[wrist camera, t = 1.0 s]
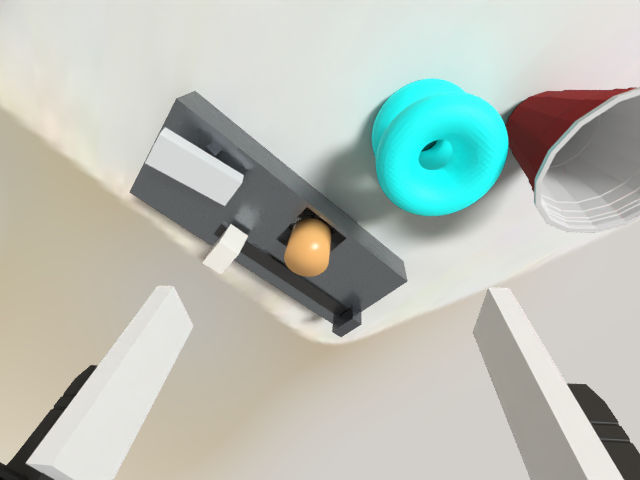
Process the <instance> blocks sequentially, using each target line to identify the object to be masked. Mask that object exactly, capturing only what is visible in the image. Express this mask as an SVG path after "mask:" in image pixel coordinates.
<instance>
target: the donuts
mask: <svg viewBox="0 0 640 480" xmlns="http://www.w3.org/2000/svg"><path fill="white" fill-rule="evenodd" d="M436 140H438V141H437V142H436V144H435V145H434V146H433V147H432V148H430V149H428V150H426V151H422V149H423V148H424V147H425V146H426V145H428V144H429V143H431V142H433V141H436ZM372 147H373V152H374V155H375V157H376V173H377V178H378V181H379V184H380V186H381V188H382V190H383V192H384V193H385V195H386V196H387V197H388V198H389V199H390V200H391V201H392V202H393V203H394V204H395V205H396V206H398V207H399V208H401V209H403V210H405V211H407V212H410V213H413V214H416V215H422V216H441V215H447V214H451V213H454V212H457V211H460V210H462V209H464V208H466V207H468V206H470V205H471V204H473V203H475V202H476V201H477V200H479V199H480V198H481V197H482V196H484V195H485V194H486V193H487V192H488V191H489V190H490V188H491V187H492V186H493V185H494V183H495V182H496V181H497V179H498V177H499V176H500V174H501V172H502V170H503V167H504V165H505V162H506V158H507V154H508V135H507V130H506V127H505V124H504V122H503V120H502V118H501V116H500V115H499V113H498V112H497V111H496V110H495V108H494V107H492V106H491V105H490V104H489V103H488V102H486V101H484V100H483V99H481V98H479V97H477V96H474V95H472V94H468V93H465V92H464V91H463V90H462V89H461V88H460V87H458V86H457V85H455V84H453V83H451V82H448V81H445V80H441V79H423V80H419V81H415V82H412V83H410V84H407V85H406V86H404V87H402V88H400V89H399V90H398V91H396V92H395V93H394V94H393V95H391V96H390V97H389V98H388V99H387V101H386V102H385V103H384V104H383V106H382V107H381V109H380V110H379V112H378V114H377V116H376V119H375V122H374V125H373V129H372Z"/></svg>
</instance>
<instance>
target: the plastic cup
mask: <svg viewBox="0 0 640 480" xmlns="http://www.w3.org/2000/svg"><path fill="white" fill-rule="evenodd" d="M506 130H507V135H508V145H509V147H510V148H511V150H512V154H513V155H514V157H515V158H516V160H517V162H518V163H519V165H520V166H521V168H522V169H523V171H524V173H525V174H526V176H527V177H528V179H529V183H530V184H531V186H532V190H533V191H534V203H535V206H536V208H537V209H538V211H539V212H540V214H541V215H542V217H543V219H544V220H545V222H546V223H547V224H550V225H552V226H554V227H556V228H559V229H561V230H563V231H565V232H584V233H595V232H599V231H603V230H607V229H611V228H615V227H619V226H623V225H626V224H629V223H631V222H633V221H635V220H637V219H639V218H640V87H639V88H628V89H614V90H564V91H546V92H543V93H540V94H537V95H534V96H531V97H529V98H528V99H526V100H525V101H523V102H522V103H521V104H519V105H518V106H517V107H516V109H515V110H514V111H513V112H512V114H511V115H510V116H509V119H508V121H507V124H506Z"/></svg>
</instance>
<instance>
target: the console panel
mask: <svg viewBox="0 0 640 480" xmlns="http://www.w3.org/2000/svg"><path fill="white" fill-rule="evenodd" d="M165 127H166V128H168V129H169V130H171V131H172V132H174V133H176V134H177V135H179V136H181V137H182V138H184V139H185V140H187V141H189V142H190V143H192V144H194V145H195V146H197V147H198V148H200V149H202V150H203V151H205V152H207V153H208V154H210V155H211V156H213V157H215V158H216V159H218V160H220V161H221V162H223V163H224V164H226V165H228V166H229V167H231V168H233V169H234V170H236V171H238V172H239V173H241V174H242V175H244V177H243V181H242V184H241V185H240V187H239V188H238V189H237V191H236V192H235V193H234V195H233V196H232V197H231V198H230V200H229V201H228V202H227V204H226V205H225V206H224V205H222V204H220V203H218V202H216V201H214V200H212V199H211V198H209V197H207V196H205V195H203V194H201V193H199V192H198V191H196V190H194V189H192V188H190V187H188V186H186V185H185V184H183V183H181V182H179V181H177V180H175V179H173V178H172V177H170V176H168V175H166V174H164V173H162V172H161V171H159V170H157V169H155V168H153V167H151V166H149V165H148V164H146V163H145V162H146V160H147V158H148V156H149V154H150V152H151V150H152V148H153V146H154V144H155V142H156V140H157V138H158V136H159V134H160V133H161V131H162V130H163V129H164V128H165ZM159 134H158V136H157V138H156V140H155V142H154V144H153V146H152V148H151V150H150V152H149V154H148V156H147V158H146V160H145V162H144V164H143V166H142V168H141V170H140V172H139V174H138V176H137V178H136V180H135V182H134V184H133V186H132V188H131V190H130V193H131V194H133V195H134V196H136V197H138V198H139V199H141V200H142V201H144V202H145V203H147V204H148V205H150V206H151V207H153V208H155V209H156V210H158V211H159V212H161V213H162V214H164V215H165V216H167V217H168V218H170V219H172V220H173V221H175V222H176V223H178V224H179V225H181V226H182V227H184V228H185V229H187V230H189V231H190V232H192V233H193V234H195V235H196V236H198V237H199V238H201V239H202V240H204V241H206V242H207V243H209V244H210V245H212V246H214V244H215V243H216V242H217V240H218V239H219V238H220V237H221V235H222V234H223V233H224V232H225V230H226V229H227V228H228V227H229V226H230V224H232V225H233V226H235V227H236V228H237V229H239V230H240V231H242V232H243V233H245V234H246V235H248V237H247V239H246V241H245V243H244V245H243V247H242V249H241V251H240V253H239V255H238V256H237V257H236V258H235V259H234V260H235V261H236V262H238V263H240V264H241V265H243V266H244V267H246V268H247V269H249V270H250V271H252V272H253V273H255V274H257V275H258V276H260V277H261V278H263V279H264V280H266V281H267V282H269V283H270V284H272V285H274V286H275V287H277V288H278V289H280V290H281V291H283V292H284V293H286V294H287V295H289V296H291V297H292V298H294V299H295V300H297V301H298V302H300V303H301V304H303V305H304V306H306V307H308V308H309V309H311V310H312V311H314V312H315V313H317V314H318V315H320V316H321V317H323V318H325V319H326V320H328V321H329V322H331V323H332V324H333V330H332V332H333V333H335V334H337V335H338V336H340V337H342V336H344V335H345V334H347V333H349V332H350V331H352V330H353V329H355V328H356V327H358V326H360V325H361V312H362V311H363V310H365V309H366V308H368V307H369V306H371V305H372V304H374V303H375V302H377V301H378V300H380V299H381V298H383V297H384V296H386V295H387V294H389V293H390V292H392V291H393V290H395V289H396V288H398V287H400V286H401V285H403V284H404V283H406V282H407V277H406V272H405V267H404V263H403V261H402V260H401V259H400V258H399V257H397V256H396V255H395V254H394V253H393V252H391V251H390V250H389V249H388V248H386V247H385V246H384V245H383V244H382V243H380V242H379V241H378V240H377V239H375V238H374V237H373V236H372V235H371V234H369V233H368V232H367V231H366V230H364V229H363V228H362V227H361V226H360V225H358V224H357V223H356V222H355V221H353V220H352V219H351V218H350V217H349V216H347V215H346V214H345V213H344V212H342V211H341V210H340V209H339V208H338V207H336V206H335V205H334V204H333V203H331V202H330V201H329V200H328V199H327V198H325V197H324V196H323V195H322V194H320V193H319V192H318V191H317V190H316V189H314V188H313V187H312V186H311V185H309V184H308V183H307V182H306V181H305V180H303V179H302V178H301V177H300V176H298V175H297V174H296V173H295V172H294V171H292V170H291V169H290V168H289V167H287V166H286V165H285V164H284V163H282V162H281V161H280V160H279V159H278V158H276V157H275V156H274V155H273V154H271V153H270V152H269V151H268V150H267V149H265V148H264V147H263V146H262V145H260V144H259V143H258V142H257V141H256V140H254V139H253V138H252V137H251V136H249V135H248V134H247V133H246V132H245V131H243V130H242V129H241V128H240V127H238V126H237V125H236V124H235V123H234V122H232V121H231V120H230V119H229V118H227V117H226V116H225V115H224V114H223V113H221V112H220V111H219V110H218V109H216V108H215V107H214V106H213V105H212V104H210V103H209V102H208V101H207V100H205V99H204V98H203V97H202V96H201V95H199V94H198V93H197V92H196V91H195V92H192V93H189V94H187V95H184V96H182V97H179V98H177V99H176V101H175V103H174V105H173V107H172V109H171V111H170V113H169V115H168V116H167V118H166V120H165V122H164V124H163V126H162V128H161V130H160V132H159ZM306 207H308V208H309V209H310V210H312V211H313V212H314V213H315V214H317V215H318V216H319V217H320V218H322V219H323V220H324V221H326V222H327V223H328V224H329V225H331V226H332V227H333V228H335V229H336V231H335V232H334V233H333V234H332V235H331V245H330V255H329V263H328V267H327V268H326V270H325V271H324V272H322V273H321V274H319V275H317V276H312V277H306V276H301V275H298V274H296V273H294V272H292V271H291V270H290V269H289V268H288V267H287V265H286V263H285V260H284V255H285V251H286V248H287V245H288V242H289V238H290V235H291V232H292V228H290V227H289V225H290V224H291V223H292V222H293V221H294V220H295V219H296V218H297V217H298V216H299V215H300V214H301V213H302V212H303V211H304V210H305V209H306Z"/></svg>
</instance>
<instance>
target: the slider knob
mask: <svg viewBox="0 0 640 480" xmlns="http://www.w3.org/2000/svg"><path fill="white" fill-rule="evenodd" d="M247 237H248V235H246V234H245V233H243V232H242V231H240V230H239V229H237V228H236V227H235V226H233V225H232V224H230V226H229V227H228V228H227V229H226V230H225V232H224V233H223V234H222V235H221V237H220V238H219V239H218V240H217V242H216V243H215V244H214V246H213V247H212V249H211V250H210V252H209V253H208V255H207V256H206V258H205V259H204V261H203V262H202V263H203V264H205V265H206V266H208V267H210V268H211V269H213V270H214V271H216V272H218V273H219V274H221V273H222V272H223V271H224V270H225V269H226V268H227V267H228V266H229V265H230V264H231V262H232V261H233V260H234V259H235V258H236V257H237V256H238V255H239V253H240V251H241V249H242V247H243V245H244V243H245V241H246V239H247Z"/></svg>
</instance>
